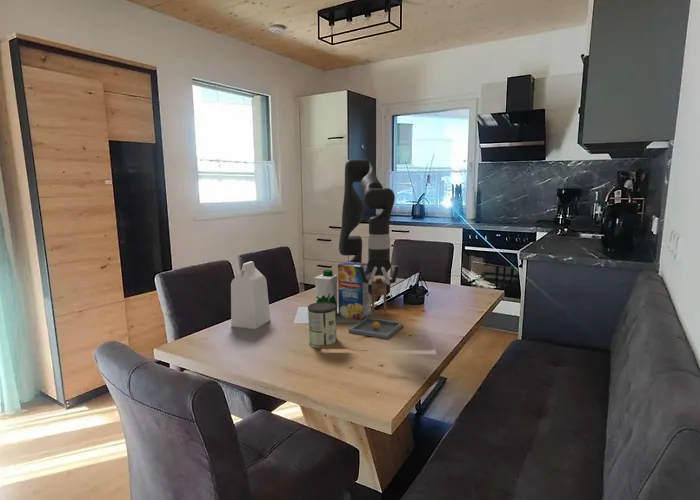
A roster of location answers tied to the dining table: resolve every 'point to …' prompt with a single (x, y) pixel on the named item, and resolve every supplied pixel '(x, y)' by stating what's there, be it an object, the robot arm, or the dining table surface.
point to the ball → (376, 325)
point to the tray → (383, 332)
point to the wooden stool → (379, 290)
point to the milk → (249, 298)
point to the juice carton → (353, 291)
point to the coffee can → (322, 323)
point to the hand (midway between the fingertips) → (379, 294)
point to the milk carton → (326, 288)
